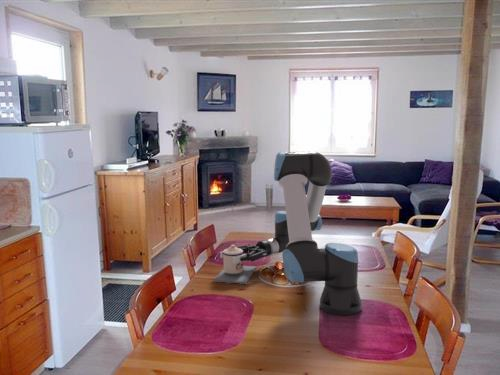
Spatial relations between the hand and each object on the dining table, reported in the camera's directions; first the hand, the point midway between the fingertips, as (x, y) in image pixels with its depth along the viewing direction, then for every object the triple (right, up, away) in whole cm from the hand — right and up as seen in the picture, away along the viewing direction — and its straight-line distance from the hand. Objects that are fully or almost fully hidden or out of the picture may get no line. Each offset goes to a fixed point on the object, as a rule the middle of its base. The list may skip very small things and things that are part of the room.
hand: (227, 257), depth 191 cm
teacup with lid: (+3, -6, +4) cm, 8 cm away
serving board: (+4, -8, +4) cm, 10 cm away
